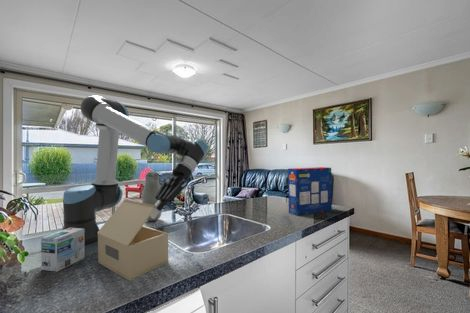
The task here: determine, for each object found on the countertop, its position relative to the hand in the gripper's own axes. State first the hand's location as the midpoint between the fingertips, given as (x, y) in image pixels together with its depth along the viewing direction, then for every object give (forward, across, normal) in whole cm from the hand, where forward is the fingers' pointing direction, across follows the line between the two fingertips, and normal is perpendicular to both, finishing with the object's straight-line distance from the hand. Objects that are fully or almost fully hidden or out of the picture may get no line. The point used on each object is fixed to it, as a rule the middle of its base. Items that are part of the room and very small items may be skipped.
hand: (150, 216), depth 83 cm
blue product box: (-57, -29, -78) cm, 101 cm away
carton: (+15, +1, -5) cm, 16 cm away
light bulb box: (+25, +20, +4) cm, 32 cm away
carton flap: (+6, +1, +7) cm, 9 cm away
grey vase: (-9, +39, -30) cm, 50 cm away
